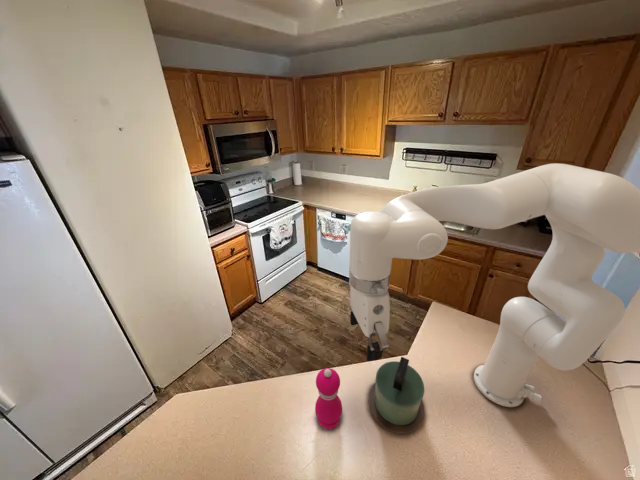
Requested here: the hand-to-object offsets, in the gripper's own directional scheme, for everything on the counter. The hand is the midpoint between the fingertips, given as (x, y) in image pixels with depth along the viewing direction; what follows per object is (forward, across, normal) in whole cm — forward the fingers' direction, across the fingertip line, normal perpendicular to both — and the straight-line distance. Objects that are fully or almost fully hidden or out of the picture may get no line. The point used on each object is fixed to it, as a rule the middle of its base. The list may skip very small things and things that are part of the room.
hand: (364, 339), depth 57 cm
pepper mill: (+30, +2, +8) cm, 31 cm away
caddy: (+29, 0, -11) cm, 31 cm away
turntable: (+30, 0, -11) cm, 32 cm away
